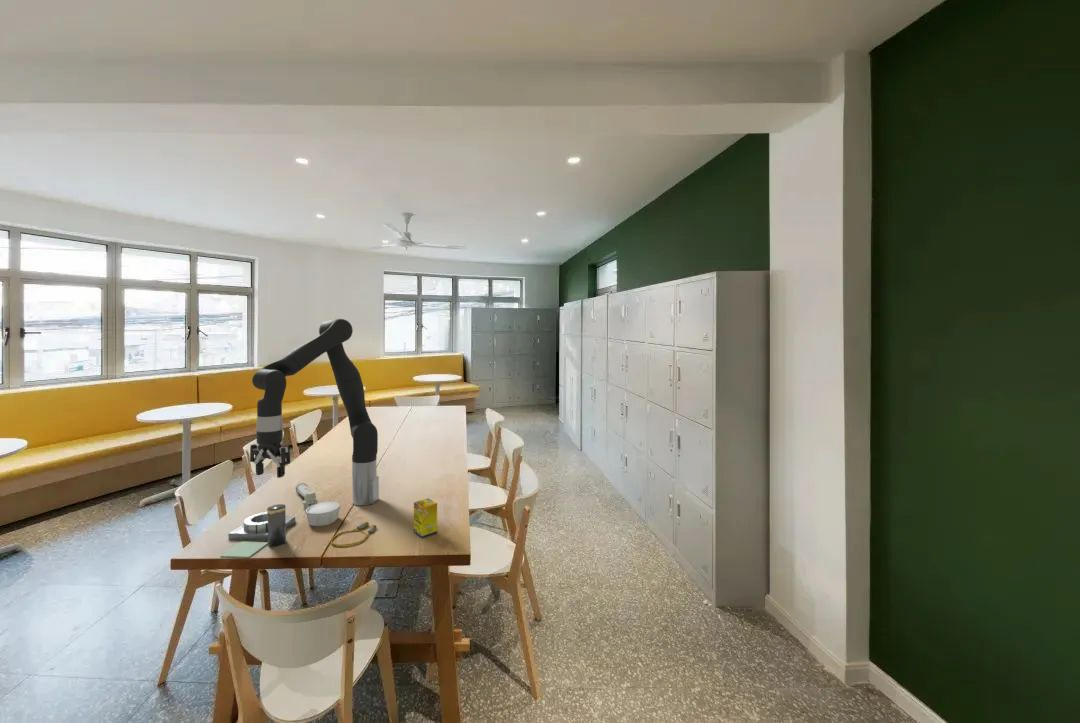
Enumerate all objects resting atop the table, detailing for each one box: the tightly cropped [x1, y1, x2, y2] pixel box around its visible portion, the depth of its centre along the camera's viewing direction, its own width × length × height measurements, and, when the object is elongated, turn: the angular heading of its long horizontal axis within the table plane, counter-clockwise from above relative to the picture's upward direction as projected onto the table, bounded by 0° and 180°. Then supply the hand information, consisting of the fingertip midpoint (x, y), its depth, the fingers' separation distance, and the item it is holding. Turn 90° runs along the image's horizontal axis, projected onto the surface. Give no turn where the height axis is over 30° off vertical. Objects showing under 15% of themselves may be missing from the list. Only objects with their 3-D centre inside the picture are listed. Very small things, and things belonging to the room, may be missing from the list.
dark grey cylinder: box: [266, 503, 287, 548], centre depth 139 cm, size 5×5×12 cm
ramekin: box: [305, 501, 341, 527], centre depth 156 cm, size 11×11×5 cm
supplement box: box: [413, 497, 438, 539], centre depth 148 cm, size 6×6×11 cm
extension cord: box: [330, 521, 377, 548], centre depth 145 cm, size 12×16×2 cm
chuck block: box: [227, 511, 296, 541], centre depth 148 cm, size 14×14×4 cm
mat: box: [220, 541, 268, 559], centre depth 135 cm, size 9×9×1 cm
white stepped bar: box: [295, 482, 319, 510], centre depth 176 cm, size 5×7×25 cm
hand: (270, 475), depth 144 cm, fingers open, 8 cm apart
